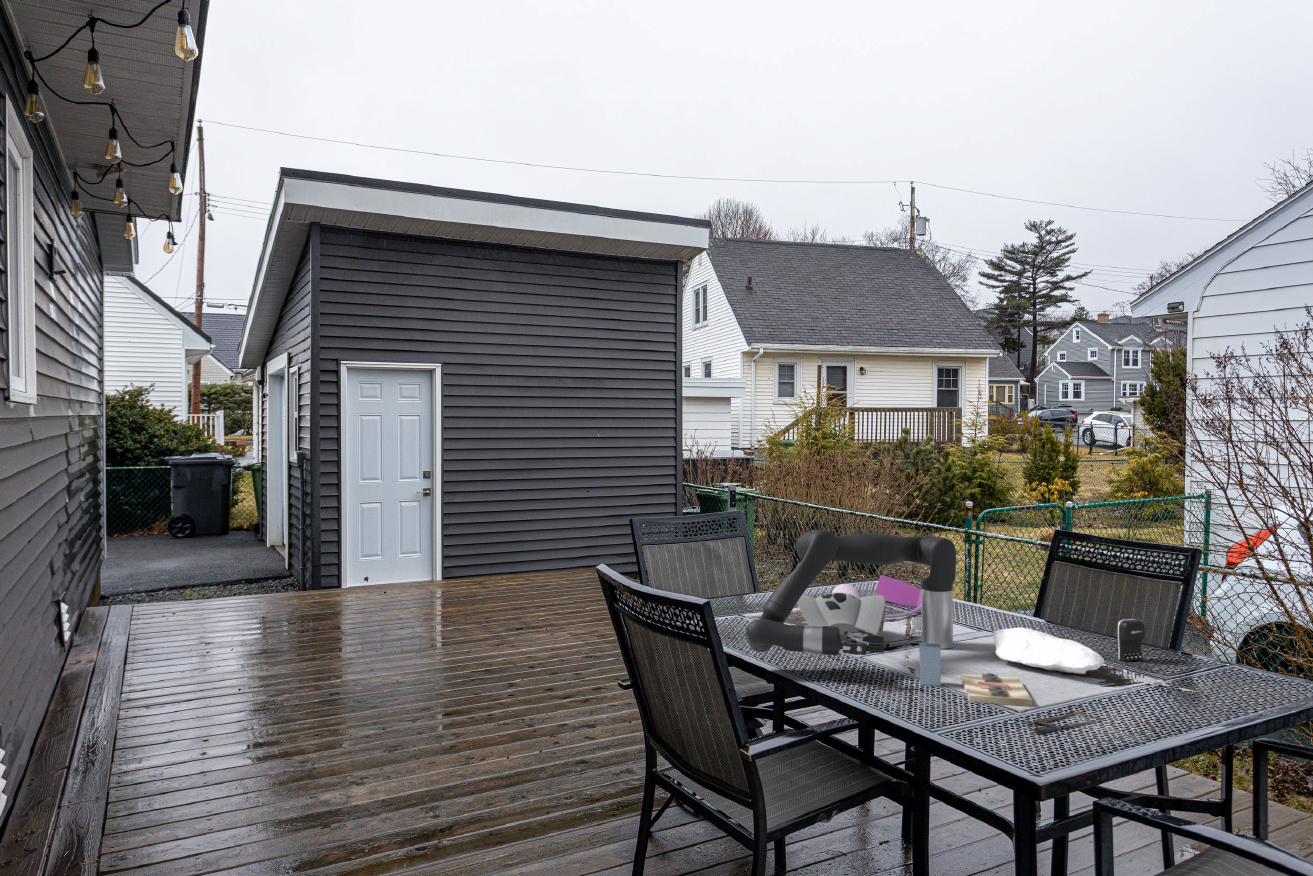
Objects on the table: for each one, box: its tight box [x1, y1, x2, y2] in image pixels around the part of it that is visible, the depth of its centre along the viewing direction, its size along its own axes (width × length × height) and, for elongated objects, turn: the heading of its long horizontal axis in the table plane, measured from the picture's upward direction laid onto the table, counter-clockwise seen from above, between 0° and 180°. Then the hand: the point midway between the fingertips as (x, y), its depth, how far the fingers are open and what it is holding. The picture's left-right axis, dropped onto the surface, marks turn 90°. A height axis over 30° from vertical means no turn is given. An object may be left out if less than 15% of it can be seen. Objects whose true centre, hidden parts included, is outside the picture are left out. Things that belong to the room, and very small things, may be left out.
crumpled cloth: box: [992, 627, 1105, 675], centre depth 224 cm, size 24×35×9 cm
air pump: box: [831, 574, 921, 619], centre depth 292 cm, size 32×38×10 cm
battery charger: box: [1116, 618, 1146, 662], centre depth 229 cm, size 7×4×11 cm, turn 101°
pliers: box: [1135, 675, 1197, 692], centre depth 203 cm, size 10×2×15 cm
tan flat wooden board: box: [960, 672, 1033, 707], centre depth 201 cm, size 18×14×2 cm
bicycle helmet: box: [796, 592, 886, 637], centre depth 254 cm, size 28×26×16 cm
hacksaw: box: [1022, 704, 1105, 735], centre depth 182 cm, size 24×10×2 cm, turn 114°
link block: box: [918, 642, 942, 687], centre depth 209 cm, size 4×5×10 cm
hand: (884, 644), depth 212 cm, fingers open, 8 cm apart
